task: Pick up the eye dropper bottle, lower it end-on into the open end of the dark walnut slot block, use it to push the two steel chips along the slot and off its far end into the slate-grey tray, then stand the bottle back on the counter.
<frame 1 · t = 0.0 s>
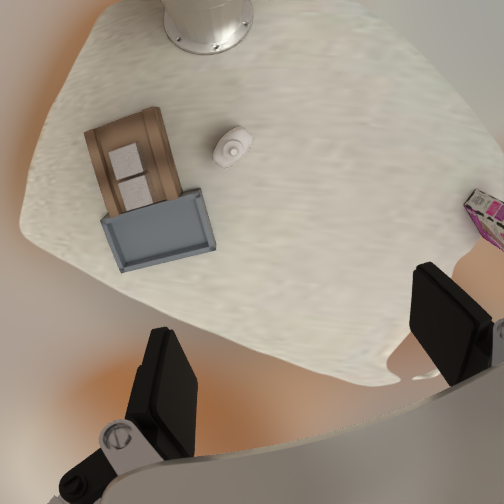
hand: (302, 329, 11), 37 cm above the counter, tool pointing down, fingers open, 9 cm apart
candy bar box: (478, 214, 51), on the counter
slot block: (137, 159, 43), on the counter
eye dropper bottle: (231, 143, 43), on the counter
chip b: (139, 189, 41), point 3 cm above the counter, touching slot block
tray: (159, 229, 47), on the counter
chip a: (131, 159, 40), point 3 cm above the counter, touching slot block
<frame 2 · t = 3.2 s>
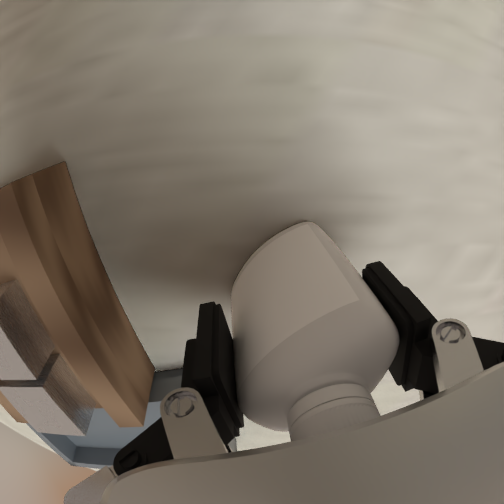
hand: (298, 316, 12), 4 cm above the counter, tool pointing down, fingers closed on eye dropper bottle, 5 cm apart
slot block: (39, 297, 15), on the counter
eye dropper bottle: (281, 266, 16), on the counter, touching gripper
chip b: (53, 381, 14), point 3 cm above the counter, touching slot block
tray: (120, 418, 20), on the counter
chip a: (12, 319, 12), point 3 cm above the counter, touching slot block
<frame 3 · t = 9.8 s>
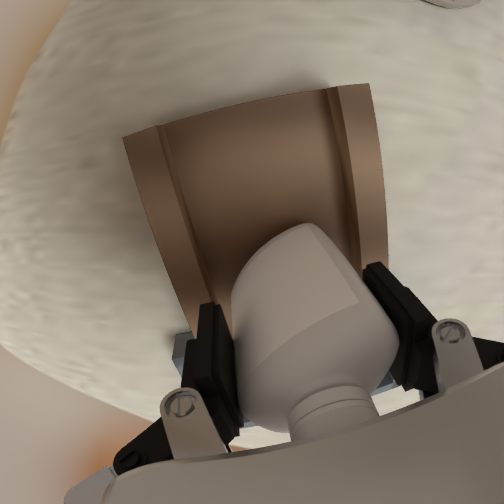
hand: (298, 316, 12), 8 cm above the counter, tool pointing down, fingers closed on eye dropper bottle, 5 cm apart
slot block: (268, 216, 18), on the counter
eye dropper bottle: (281, 267, 16), point 3 cm above the counter, touching gripper
tray: (297, 356, 23), on the counter
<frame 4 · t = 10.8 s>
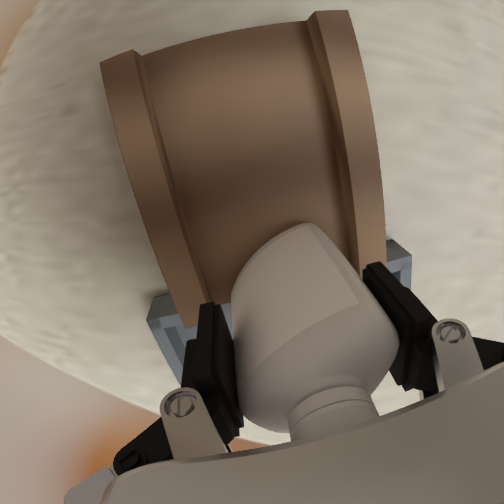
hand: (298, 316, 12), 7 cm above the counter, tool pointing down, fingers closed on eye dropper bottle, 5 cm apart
slot block: (251, 159, 16), on the counter
eye dropper bottle: (280, 267, 16), point 3 cm above the counter, touching chip a, gripper
tray: (288, 326, 21), on the counter
when the fingers open (5 cm above the counter, at t = 17.2 s): eye dropper bottle drops 1 cm, on the counter.
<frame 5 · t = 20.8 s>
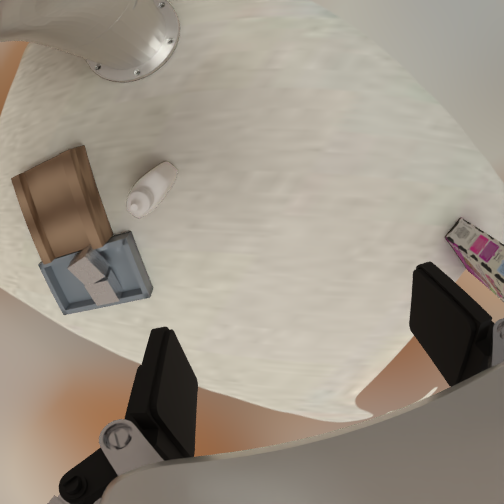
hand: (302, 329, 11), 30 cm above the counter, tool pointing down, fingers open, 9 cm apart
candy bar box: (463, 245, 46), on the counter
slot block: (67, 201, 38), on the counter
eye dropper bottle: (160, 181, 38), on the counter
chip b: (101, 293, 40), point 3 cm above the counter, tilted 169°, touching chip a, tray
tray: (96, 272, 42), on the counter
chip a: (91, 260, 39), point 2 cm above the counter, tilted 15°, touching chip b, slot block
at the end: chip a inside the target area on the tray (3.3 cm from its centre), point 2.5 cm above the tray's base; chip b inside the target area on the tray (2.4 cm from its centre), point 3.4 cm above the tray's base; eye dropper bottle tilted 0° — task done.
